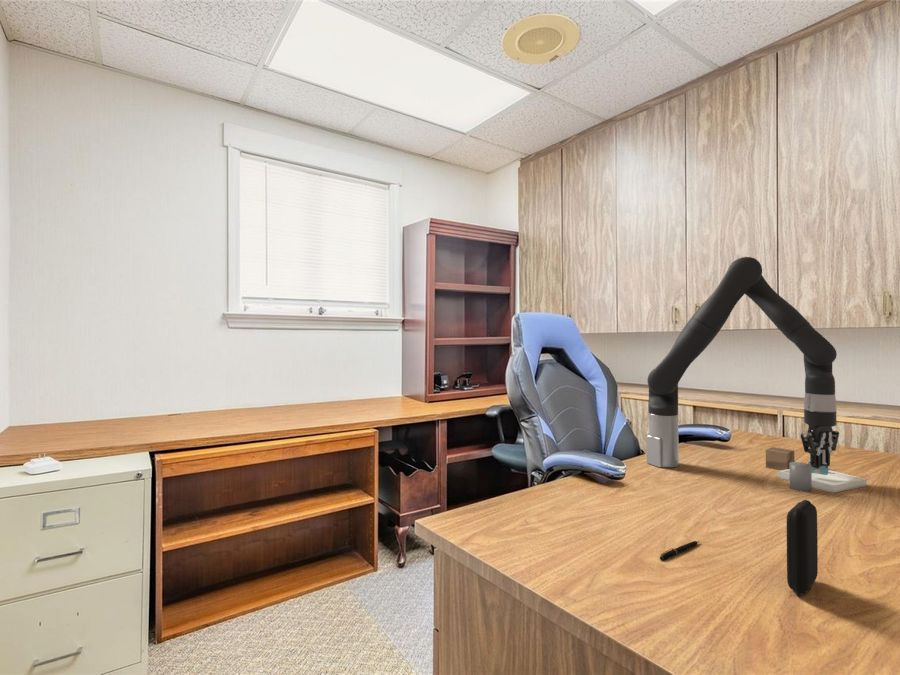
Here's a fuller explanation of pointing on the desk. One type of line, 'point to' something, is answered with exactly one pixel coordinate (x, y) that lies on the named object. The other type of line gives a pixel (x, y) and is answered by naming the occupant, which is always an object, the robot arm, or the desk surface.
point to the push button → (823, 466)
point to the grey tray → (831, 481)
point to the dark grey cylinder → (800, 476)
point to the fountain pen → (677, 550)
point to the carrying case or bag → (802, 547)
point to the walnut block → (779, 458)
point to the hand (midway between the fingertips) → (820, 466)
